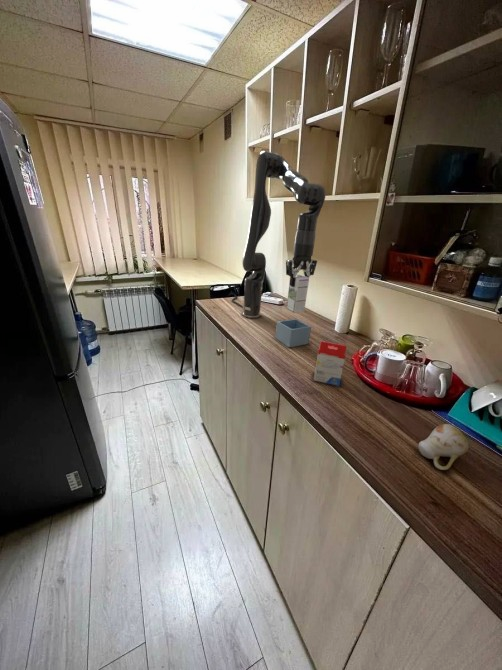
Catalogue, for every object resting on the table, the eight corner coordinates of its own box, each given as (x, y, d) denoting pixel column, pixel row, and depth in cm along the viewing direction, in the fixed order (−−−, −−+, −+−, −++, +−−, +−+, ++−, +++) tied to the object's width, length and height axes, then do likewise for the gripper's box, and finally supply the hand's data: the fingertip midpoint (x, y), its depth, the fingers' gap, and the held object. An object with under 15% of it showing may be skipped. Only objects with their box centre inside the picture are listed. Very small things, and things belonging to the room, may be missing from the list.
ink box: (339, 379, 94) (348, 340, 88) (339, 386, 89) (348, 346, 84) (314, 373, 96) (321, 335, 90) (312, 380, 92) (319, 341, 86)
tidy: (275, 337, 123) (277, 321, 120) (294, 334, 128) (296, 318, 125) (288, 347, 114) (291, 330, 111) (308, 343, 119) (311, 326, 116)
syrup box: (304, 311, 114) (310, 277, 109) (293, 313, 111) (298, 277, 106) (296, 307, 119) (301, 274, 113) (285, 308, 116) (289, 274, 110)
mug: (405, 447, 66) (425, 411, 66) (432, 459, 69) (451, 425, 69) (431, 466, 59) (453, 426, 59) (461, 479, 62) (482, 441, 61)
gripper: (312, 242, 110) (306, 283, 117) (283, 241, 104) (278, 284, 111) (325, 244, 104) (318, 287, 111) (295, 243, 98) (289, 289, 105)
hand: (298, 285), depth 111 cm, fingers closed on syrup box, 5 cm apart
